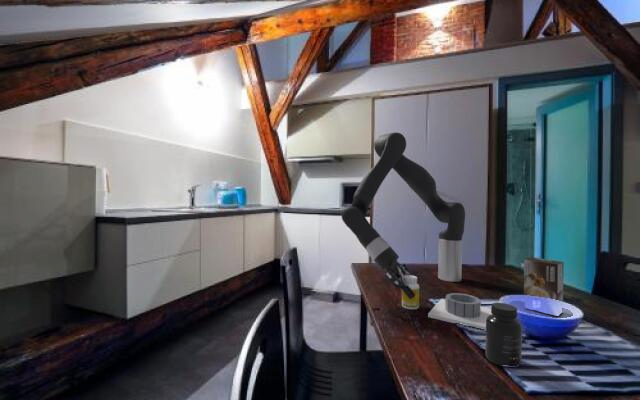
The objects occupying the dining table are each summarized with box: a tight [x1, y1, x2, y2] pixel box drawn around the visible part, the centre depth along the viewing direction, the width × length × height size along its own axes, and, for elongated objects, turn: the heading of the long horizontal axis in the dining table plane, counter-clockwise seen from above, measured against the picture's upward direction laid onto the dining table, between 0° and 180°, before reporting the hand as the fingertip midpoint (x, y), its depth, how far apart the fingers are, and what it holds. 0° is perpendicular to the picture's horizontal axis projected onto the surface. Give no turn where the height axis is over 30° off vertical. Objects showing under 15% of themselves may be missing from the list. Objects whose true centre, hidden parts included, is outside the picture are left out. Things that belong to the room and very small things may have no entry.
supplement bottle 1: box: [401, 274, 420, 310], centre depth 97 cm, size 5×5×10 cm
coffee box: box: [523, 256, 564, 302], centre depth 95 cm, size 9×6×16 cm
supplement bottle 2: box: [484, 302, 523, 367], centre depth 66 cm, size 7×7×12 cm
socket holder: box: [427, 292, 492, 331], centre depth 91 cm, size 16×16×5 cm
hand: (416, 294), depth 96 cm, fingers closed on supplement bottle 1, 5 cm apart
